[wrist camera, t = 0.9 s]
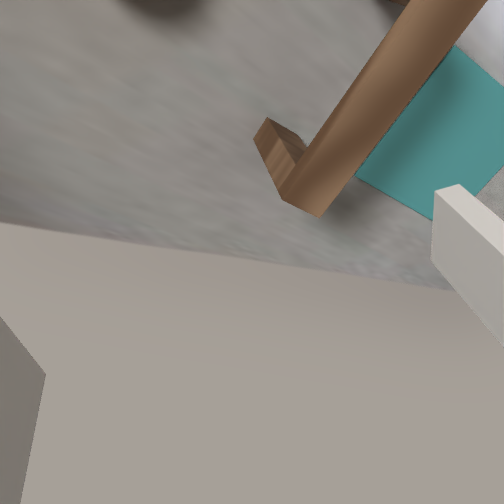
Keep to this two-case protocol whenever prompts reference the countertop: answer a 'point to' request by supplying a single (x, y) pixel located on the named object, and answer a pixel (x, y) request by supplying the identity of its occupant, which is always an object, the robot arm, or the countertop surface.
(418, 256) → the countertop surface
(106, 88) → the countertop surface
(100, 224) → the countertop surface
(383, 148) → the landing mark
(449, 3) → the bridge
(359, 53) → the countertop surface
